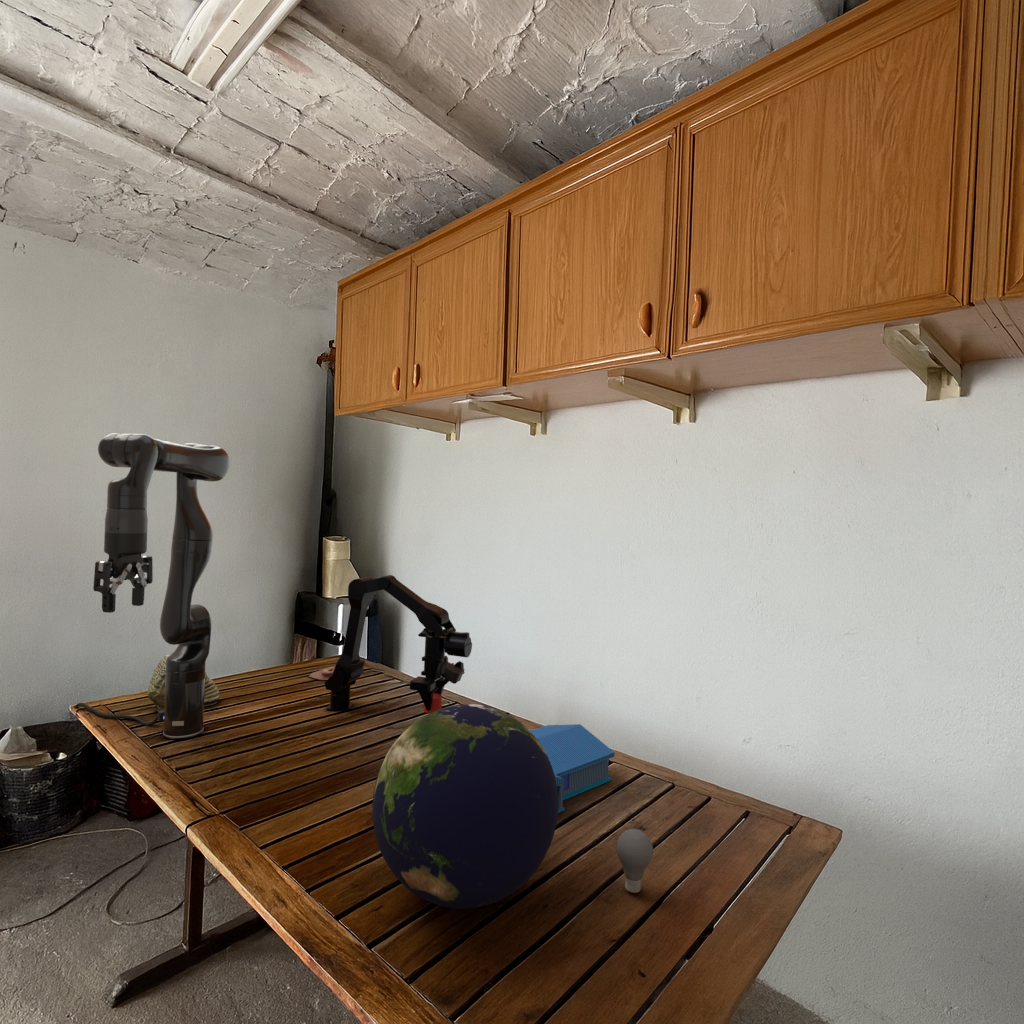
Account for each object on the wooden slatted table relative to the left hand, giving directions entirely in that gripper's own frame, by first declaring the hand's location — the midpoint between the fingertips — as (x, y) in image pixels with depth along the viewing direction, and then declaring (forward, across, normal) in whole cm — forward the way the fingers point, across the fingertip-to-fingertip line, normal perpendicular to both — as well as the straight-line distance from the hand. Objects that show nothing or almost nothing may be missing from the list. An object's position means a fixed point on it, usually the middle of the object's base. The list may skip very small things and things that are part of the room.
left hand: (123, 608), depth 131 cm
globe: (+38, -22, -76) cm, 88 cm away
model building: (+38, +17, -84) cm, 94 cm away
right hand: (+34, +54, -54) cm, 84 cm away
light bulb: (+38, -17, -104) cm, 112 cm away
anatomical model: (+38, +91, -10) cm, 100 cm away
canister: (+35, +54, -54) cm, 85 cm away
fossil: (+38, +52, +19) cm, 67 cm away
